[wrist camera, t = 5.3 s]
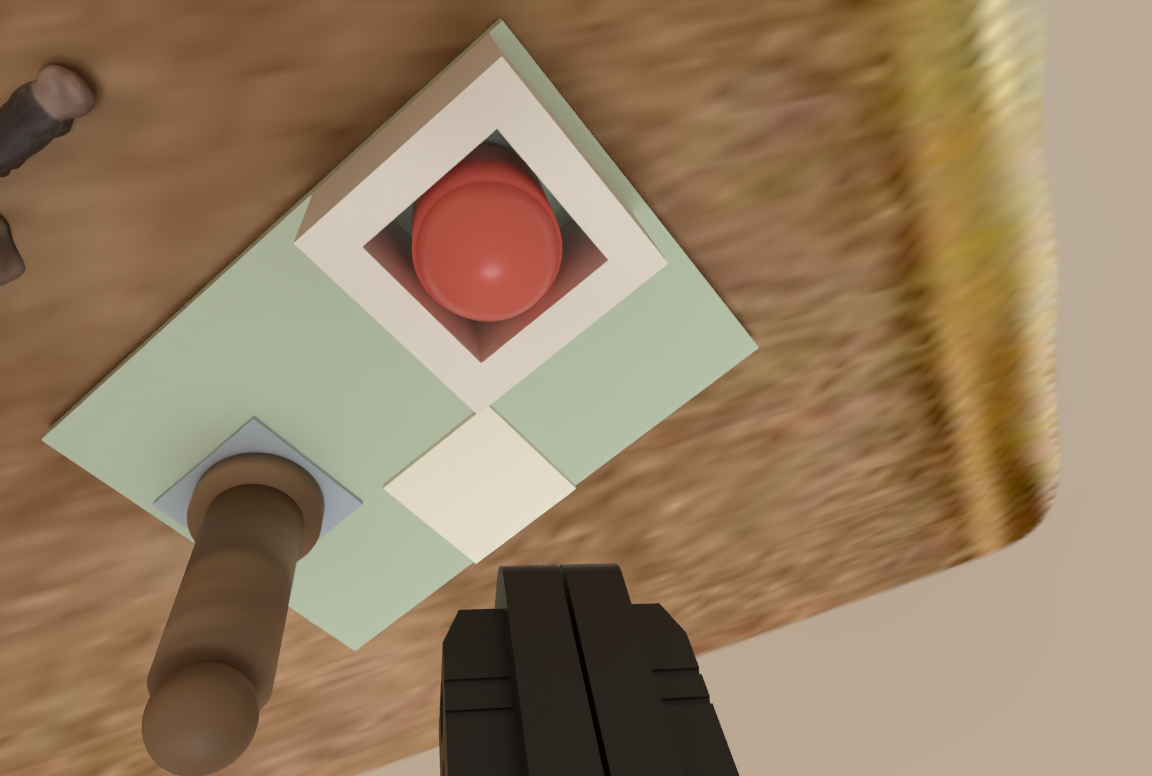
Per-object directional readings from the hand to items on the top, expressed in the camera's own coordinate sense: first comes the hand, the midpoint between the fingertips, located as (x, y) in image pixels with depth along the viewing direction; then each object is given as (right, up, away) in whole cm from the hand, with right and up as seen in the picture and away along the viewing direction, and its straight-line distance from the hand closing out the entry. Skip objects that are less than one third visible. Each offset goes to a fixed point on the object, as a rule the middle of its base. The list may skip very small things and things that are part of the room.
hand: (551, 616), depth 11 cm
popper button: (-3, +8, +15) cm, 17 cm away
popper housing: (-3, +9, +16) cm, 19 cm away
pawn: (-11, -1, +19) cm, 22 cm away
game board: (-5, +3, +19) cm, 20 cm away
